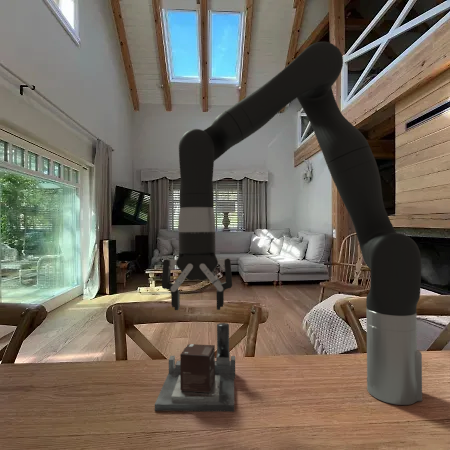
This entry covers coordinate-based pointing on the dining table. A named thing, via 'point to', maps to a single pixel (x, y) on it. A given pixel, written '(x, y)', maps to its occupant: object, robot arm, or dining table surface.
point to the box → (197, 368)
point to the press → (198, 401)
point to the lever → (223, 344)
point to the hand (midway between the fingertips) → (197, 309)
